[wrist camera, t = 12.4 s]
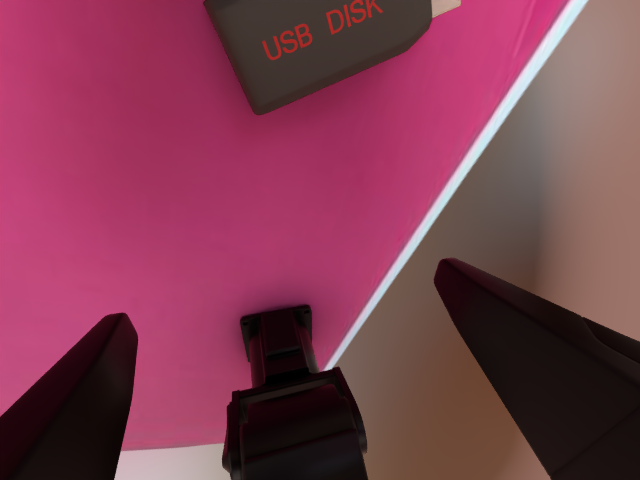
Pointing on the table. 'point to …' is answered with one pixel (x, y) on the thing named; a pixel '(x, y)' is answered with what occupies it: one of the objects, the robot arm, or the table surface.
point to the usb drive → (313, 41)
